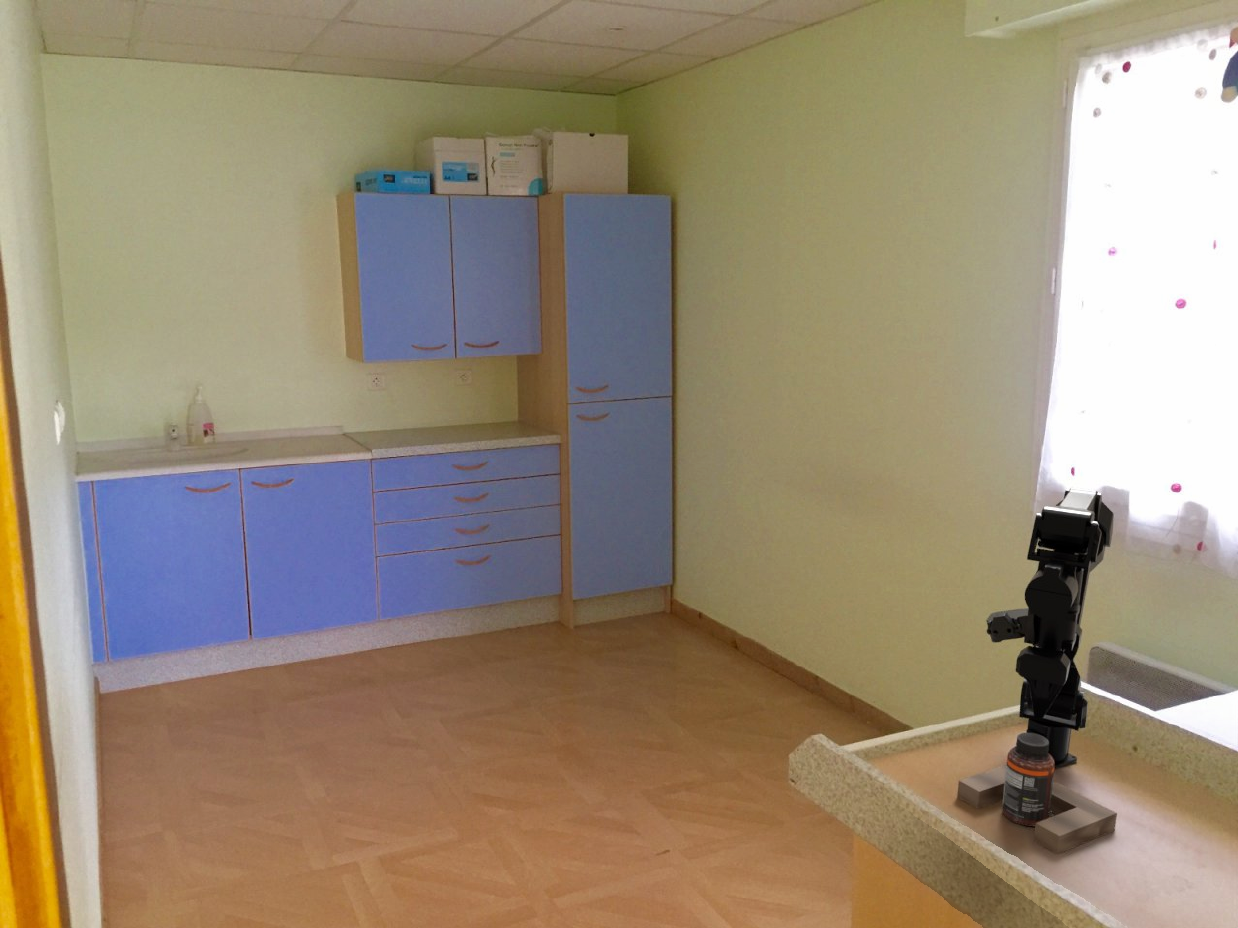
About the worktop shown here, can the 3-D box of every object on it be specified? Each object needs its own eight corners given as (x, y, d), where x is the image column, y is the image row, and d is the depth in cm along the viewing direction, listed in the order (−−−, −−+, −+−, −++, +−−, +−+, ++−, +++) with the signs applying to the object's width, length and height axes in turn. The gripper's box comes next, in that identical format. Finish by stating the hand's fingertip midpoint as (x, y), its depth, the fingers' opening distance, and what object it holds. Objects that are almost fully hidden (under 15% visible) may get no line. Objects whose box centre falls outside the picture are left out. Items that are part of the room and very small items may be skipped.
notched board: (1013, 777, 151) (1015, 761, 150) (1114, 830, 138) (1117, 812, 137) (957, 796, 145) (958, 780, 144) (1057, 853, 131) (1059, 835, 131)
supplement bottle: (1033, 804, 144) (1042, 728, 141) (1057, 827, 138) (1067, 748, 136) (992, 805, 143) (1001, 729, 141) (1015, 829, 137) (1024, 749, 135)
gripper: (1006, 571, 153) (995, 671, 156) (982, 605, 137) (969, 715, 140) (1088, 585, 148) (1074, 688, 151) (1072, 622, 132) (1058, 736, 135)
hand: (1043, 705), depth 145 cm, fingers open, 9 cm apart
